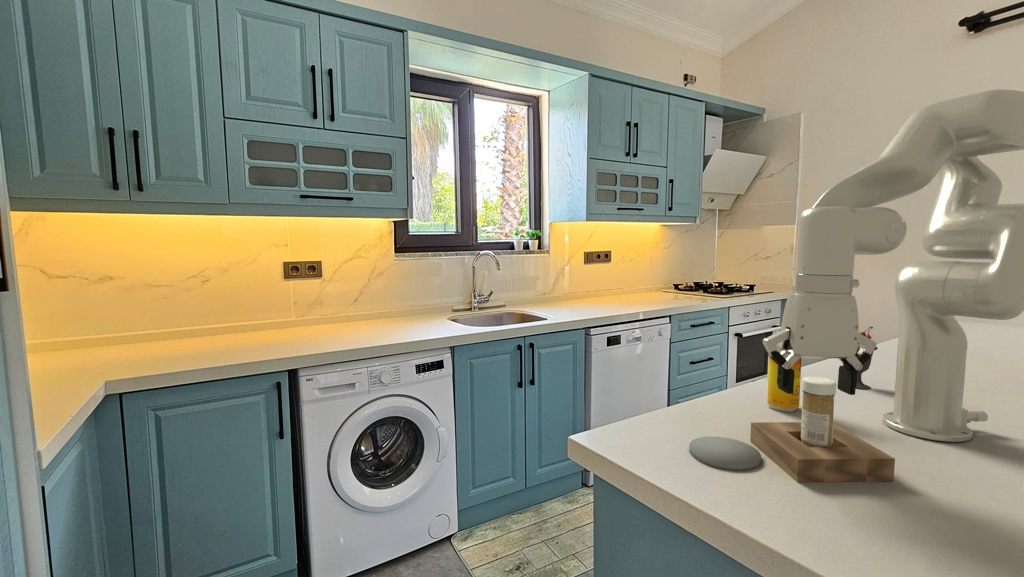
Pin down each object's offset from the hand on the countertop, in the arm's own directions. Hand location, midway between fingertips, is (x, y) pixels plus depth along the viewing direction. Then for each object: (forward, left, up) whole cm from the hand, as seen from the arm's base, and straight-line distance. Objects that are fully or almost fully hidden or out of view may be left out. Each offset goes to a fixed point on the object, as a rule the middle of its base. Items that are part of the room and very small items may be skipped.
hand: (815, 391), depth 75 cm
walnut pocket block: (-1, 0, -12) cm, 12 cm away
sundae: (-35, -38, -12) cm, 53 cm away
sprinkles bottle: (-1, 0, -12) cm, 12 cm away
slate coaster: (+13, -2, -12) cm, 18 cm away
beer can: (-9, -24, -12) cm, 28 cm away
